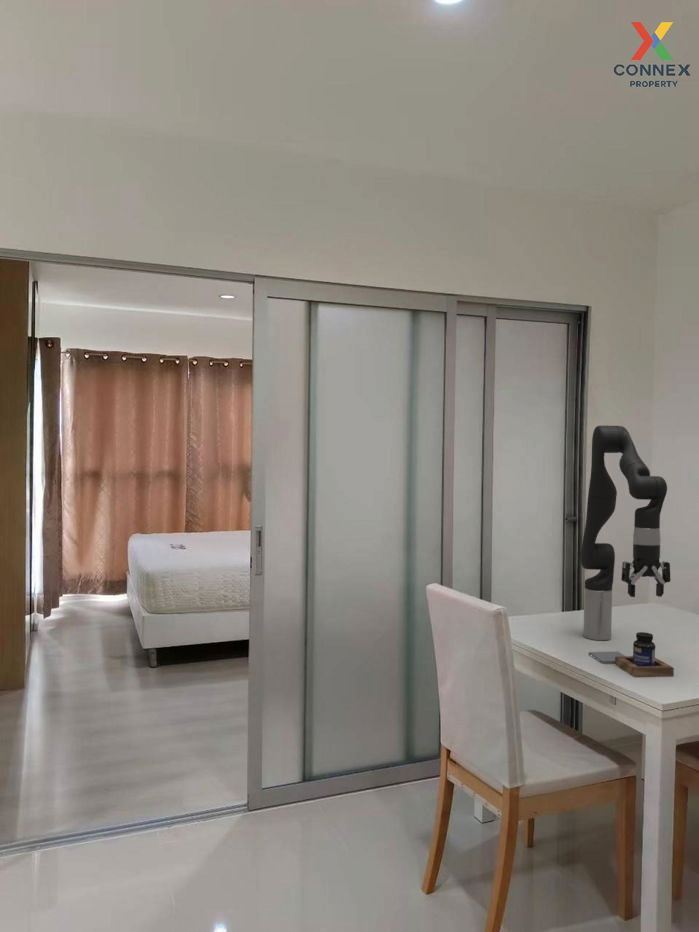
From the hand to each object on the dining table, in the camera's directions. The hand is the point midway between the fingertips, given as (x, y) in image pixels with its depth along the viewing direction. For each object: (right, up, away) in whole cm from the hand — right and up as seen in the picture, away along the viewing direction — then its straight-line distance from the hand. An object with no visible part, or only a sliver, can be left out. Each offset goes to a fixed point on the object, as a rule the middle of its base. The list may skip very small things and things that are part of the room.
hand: (645, 596), depth 215 cm
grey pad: (-6, -22, +12) cm, 26 cm away
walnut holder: (0, -22, +1) cm, 22 cm away
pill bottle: (0, -23, +1) cm, 23 cm away
